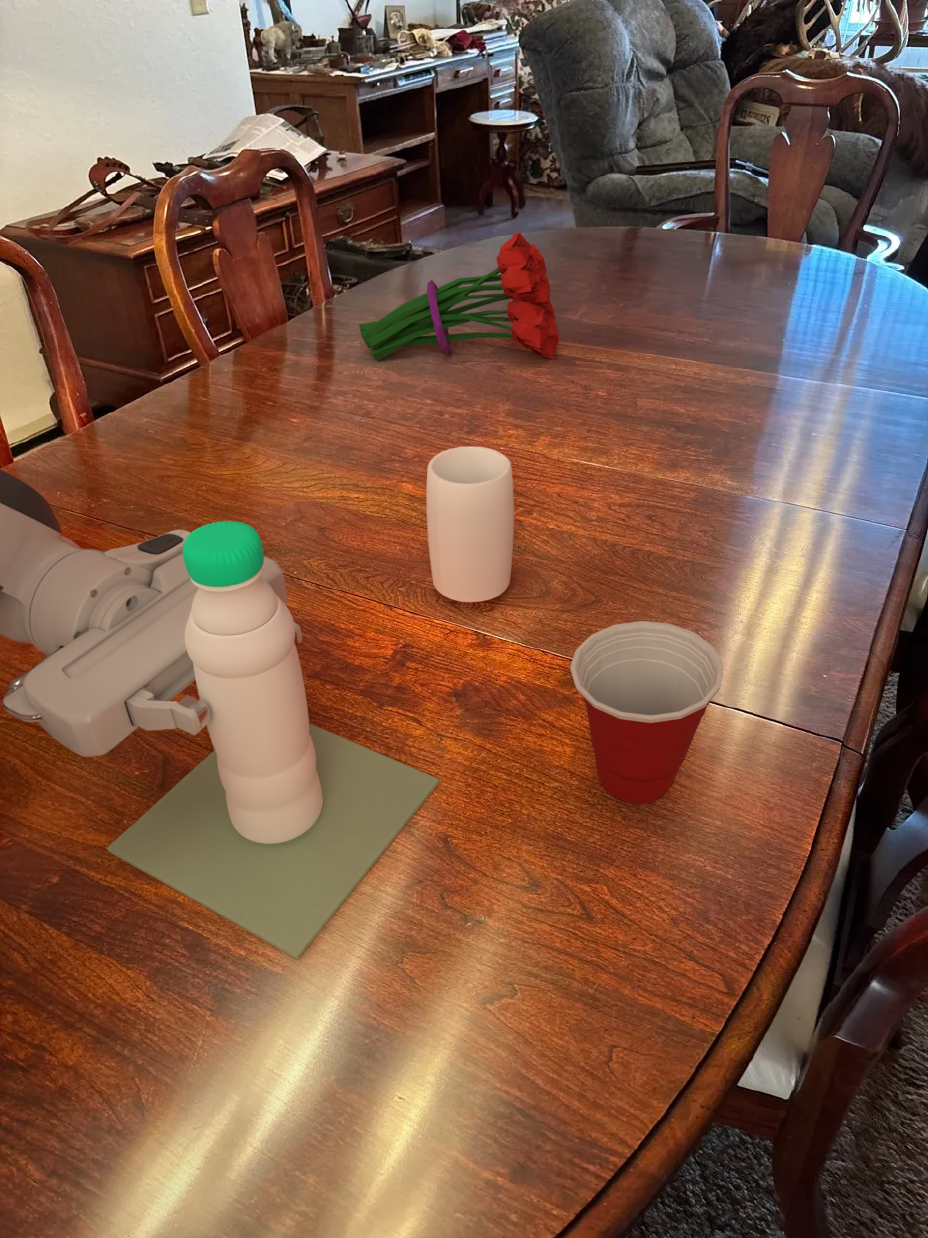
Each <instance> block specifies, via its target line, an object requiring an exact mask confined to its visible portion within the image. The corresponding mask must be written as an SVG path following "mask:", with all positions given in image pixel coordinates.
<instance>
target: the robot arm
mask: <svg viewBox="0 0 928 1238" xmlns="http://www.w3.org/2000/svg"><path fill="white" fill-rule="evenodd" d="M190 533H192V531H189V530H186V529H174V530H171V531H167V532H166V533H163V534H160V535H158V536H156V537H152V538H150V539H147V540H144V541H140V542H138V543H134V544H129V545H125V546H121V547H115V548H112V549H108V550H106V551H102V550H100V549H95V548H81V547H80V546H79V545H78V544H77V543H76V542H74V541H73V540H71V539H69V538H67V537H65V536H64V535H62V534H63V532H62V528H61V525H60V522H59V519H58V518H57V516H56V515H55V513H54V511H53V509H52V507H51V505H50V504H49V502H48V501H47V500H46V498H45V497H44V496H43V495H41V494H40V493H39V492H38V491H37V489H35V488H34V487H32V486H30V485H29V484H28V483H26V482H24V481H23V480H21V479H19V478H18V477H16V476H14V475H12V474H10V473H8V472H6V471H4V470H1V469H0V635H1V636H3V637H5V638H7V639H10V640H12V641H15V642H17V643H22V644H27V645H33V647H35V648H36V649H37V650H38V651H39V652H40V653H42V654H43V655H45V656H44V658H42V659H40V661H39V662H37V663H36V665H34V666H33V667H32V668H31V669H29V670H28V671H26V672H23V673H22V674H19V675H18V676H16V677H15V678H13V680H11V682H10V683H9V684H7V685H8V686H7V687H8V690H7V691H6V692H5V694H4V696H3V697H2V701H1V704H2V708H3V709H4V711H6V713H8V714H9V715H11V716H13V717H15V718H17V719H19V720H21V721H23V722H26V723H35V722H37V723H38V725H39V726H40V727H41V728H42V729H43V730H44V731H45V732H46V733H47V734H49V735H50V736H51V737H52V738H53V739H55V740H56V741H57V742H58V743H60V744H61V745H62V746H64V747H65V748H67V749H68V750H70V751H71V752H74V754H76V755H78V756H80V757H82V758H93V757H94V758H95V757H101V756H105V755H106V754H108V753H109V752H110V751H111V750H113V749H114V748H115V747H117V745H119V744H120V743H121V742H122V741H124V740H125V739H126V738H127V737H128V736H130V735H131V734H132V733H133V732H134V731H136V730H137V729H138V728H140V729H143V730H145V731H147V732H148V731H160V730H161V731H162V730H175V729H179V730H180V731H184V732H185V733H188V734H190V735H192V736H196V735H198V734H199V733H200V732H201V731H202V730H203V729H204V728H205V727H207V724H208V723H209V722H210V721H211V720H212V719H211V716H210V715H209V708H208V706H207V705H206V704H205V703H204V702H203V701H200V699H198V700H196V697H194V696H191V695H189V694H186V695H185V696H183V698H181V699H180V700H178V701H174V700H173V699H175V698H176V697H177V696H179V694H180V693H182V692H183V691H184V690H186V689H187V688H188V687H189V686H190V685H192V684H193V683H194V682H196V679H195V673H194V666H193V662H192V660H191V659H190V657H189V655H188V652H187V650H186V646H185V628H186V624H187V621H188V618H189V615H190V612H191V610H192V602H193V599H194V597H195V595H196V593H197V591H198V589H199V588H198V587H196V586H195V585H194V584H193V583H192V581H191V578H190V576H189V574H188V572H187V570H186V567H185V563H184V558H183V544H184V542H185V539H186V538H187V537H188V535H189V534H190ZM263 565H264V569H263V572H262V574H261V575H260V577H261V578H262V579H263V580H264V581H266V582H267V583H268V584H269V585H270V586H271V588H272V589H273V591H274V593H275V594H276V595H277V596H278V597H279V598H280V599H281V601H282V602H283V603H284V604H285V605H286V606H287V604H288V593H287V591H288V590H287V583H286V579H285V575H284V573H283V569H282V568H281V566H280V564H279V563H278V562H277V561H276V560H274V559H271V558H270V557H268V556H265V555H264V562H263ZM294 625H295V640H294V643H295V646H296V647H297V646H298V645H300V644H301V643H302V642H303V634H302V630H301V629H302V628H301V626H300V625H299V624H298V623H296V622H295V621H294Z"/></svg>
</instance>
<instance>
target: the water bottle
mask: <svg viewBox="0 0 928 1238" xmlns="http://www.w3.org/2000/svg"><path fill="white" fill-rule="evenodd" d="M263 547H264V546H263V543H262V539H261V537H260V535H259V533H258V531H257V530H256V529H255V528H254V527H253V526H252V525H249V524H247V523H245V522H242V521H235V520H234V521H233V520H228V521H227V520H222V521H216V522H211V523H207V524H205V525H201V527H197V528H196V529H194V530H192V531H191V533H190V534H189V535H188V537H187V538H186V539H185V542H184V544H183V558H184V563H185V567H186V570H187V572H188V574H189V576H190V578H191V581H192V583H193V584H194V585H195V586H196V587H198V588H199V589H198V591H197V593H196V595H195V597H194V599H193V602H192V610H191V612H190V615H189V618H188V621H187V624H186V628H185V646H186V650H187V652H188V655H189V657H190V659H191V660H192V662H193V666H194V673H195V679H196V680H195V683H196V689H197V694H198V698H199V700H200V701H203V702H204V703H205V704H206V705H207V706H208V708H209V715H210V716H211V719H212V720H211V721H210V722H209V723H208V724H207V725H206V729H207V732H208V734H209V735H208V736H209V738H210V741H211V743H212V746H213V750H215V752H216V754H217V766H218V772H219V776H220V779H221V782H222V785H223V787H224V789H225V791H226V802H227V808H228V812H229V816H230V819H231V822H232V824H233V826H234V828H235V829H236V830H237V832H238V833H240V834H241V835H242V836H243V837H245V838H247V839H249V840H251V841H254V842H257V843H263V844H276V843H282V842H286V841H289V840H292V839H294V838H296V837H298V836H300V835H302V834H303V833H305V832H306V831H307V830H308V829H309V828H310V827H311V826H312V825H313V824H314V823H315V822H316V820H317V819H318V817H319V815H320V813H321V810H322V805H323V795H322V789H321V784H320V780H319V776H318V773H317V770H316V755H315V749H314V745H313V741H312V738H311V736H310V734H309V723H310V718H309V708H308V701H307V694H306V688H305V682H304V677H303V671H302V666H301V662H300V657H299V654H298V649H297V646H295V643H294V640H295V625H294V622H295V621H294V618H293V615H292V613H291V611H290V609H289V608H288V606H287V604H286V605H285V604H284V603H283V602H282V601H281V599H280V598H279V597H278V596H277V595H276V594H275V593H274V591H273V589H272V588H271V586H270V585H269V584H268V583H267V582H266V581H264V580H263V579H262V578H261V577H260V575H261V574H262V572H263V569H264V565H263V562H264V556H265V554H264V548H263Z"/></svg>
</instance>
